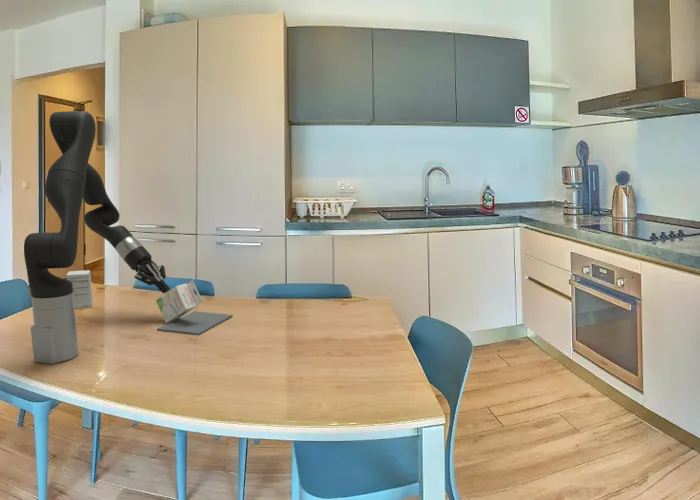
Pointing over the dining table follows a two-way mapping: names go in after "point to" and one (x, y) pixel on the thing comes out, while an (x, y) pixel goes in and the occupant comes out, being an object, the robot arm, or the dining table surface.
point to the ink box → (179, 301)
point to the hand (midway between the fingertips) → (166, 291)
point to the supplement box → (81, 288)
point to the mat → (195, 323)
